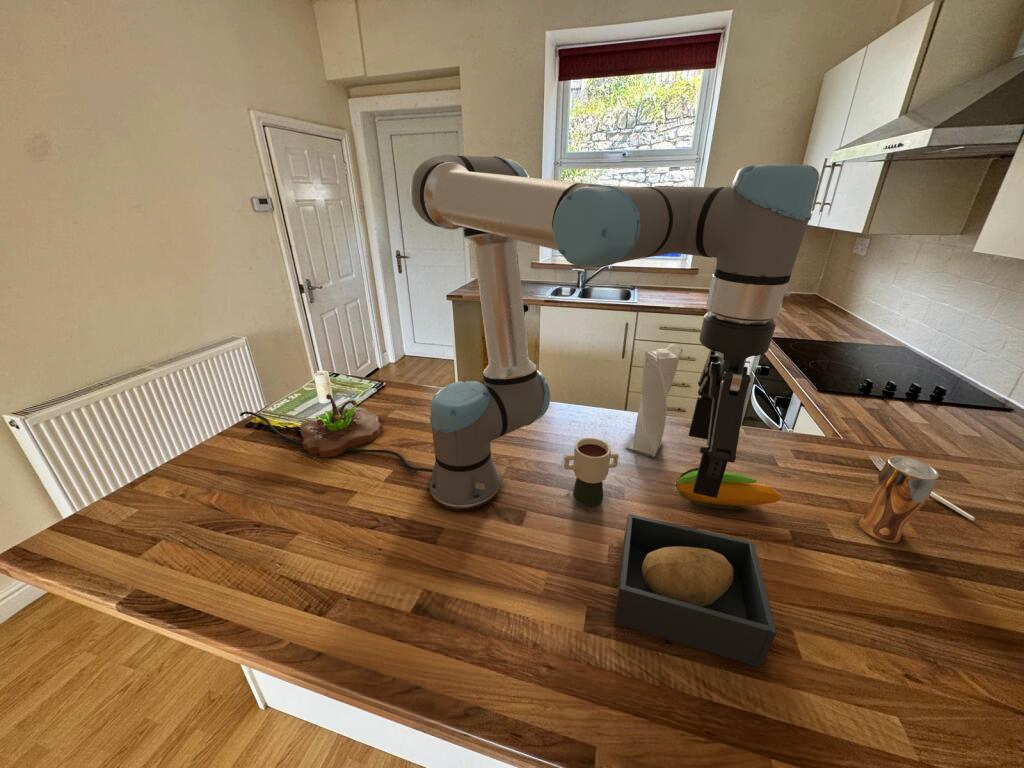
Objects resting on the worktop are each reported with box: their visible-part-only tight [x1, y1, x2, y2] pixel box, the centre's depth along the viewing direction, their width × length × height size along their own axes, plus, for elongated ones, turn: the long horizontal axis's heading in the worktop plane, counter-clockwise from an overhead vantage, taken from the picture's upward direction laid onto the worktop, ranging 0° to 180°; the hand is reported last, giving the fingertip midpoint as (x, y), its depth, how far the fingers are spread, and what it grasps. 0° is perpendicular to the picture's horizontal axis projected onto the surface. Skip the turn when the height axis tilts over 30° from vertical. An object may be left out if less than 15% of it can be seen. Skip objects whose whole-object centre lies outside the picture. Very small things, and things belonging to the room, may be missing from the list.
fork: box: [869, 453, 976, 522], centre depth 86 cm, size 3×20×2 cm, turn 12°
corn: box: [675, 467, 783, 510], centre depth 82 cm, size 7×8×20 cm
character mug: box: [563, 437, 619, 508], centre depth 82 cm, size 11×7×13 cm, turn 94°
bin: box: [613, 513, 777, 669], centre depth 62 cm, size 20×16×8 cm
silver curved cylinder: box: [858, 455, 940, 544], centre depth 73 cm, size 7×7×15 cm
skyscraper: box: [625, 343, 684, 459], centre depth 95 cm, size 8×8×28 cm
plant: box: [299, 393, 384, 458], centre depth 105 cm, size 20×20×11 cm
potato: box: [642, 546, 733, 608], centre depth 62 cm, size 10×14×8 cm
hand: (701, 462), depth 56 cm, fingers open, 13 cm apart
